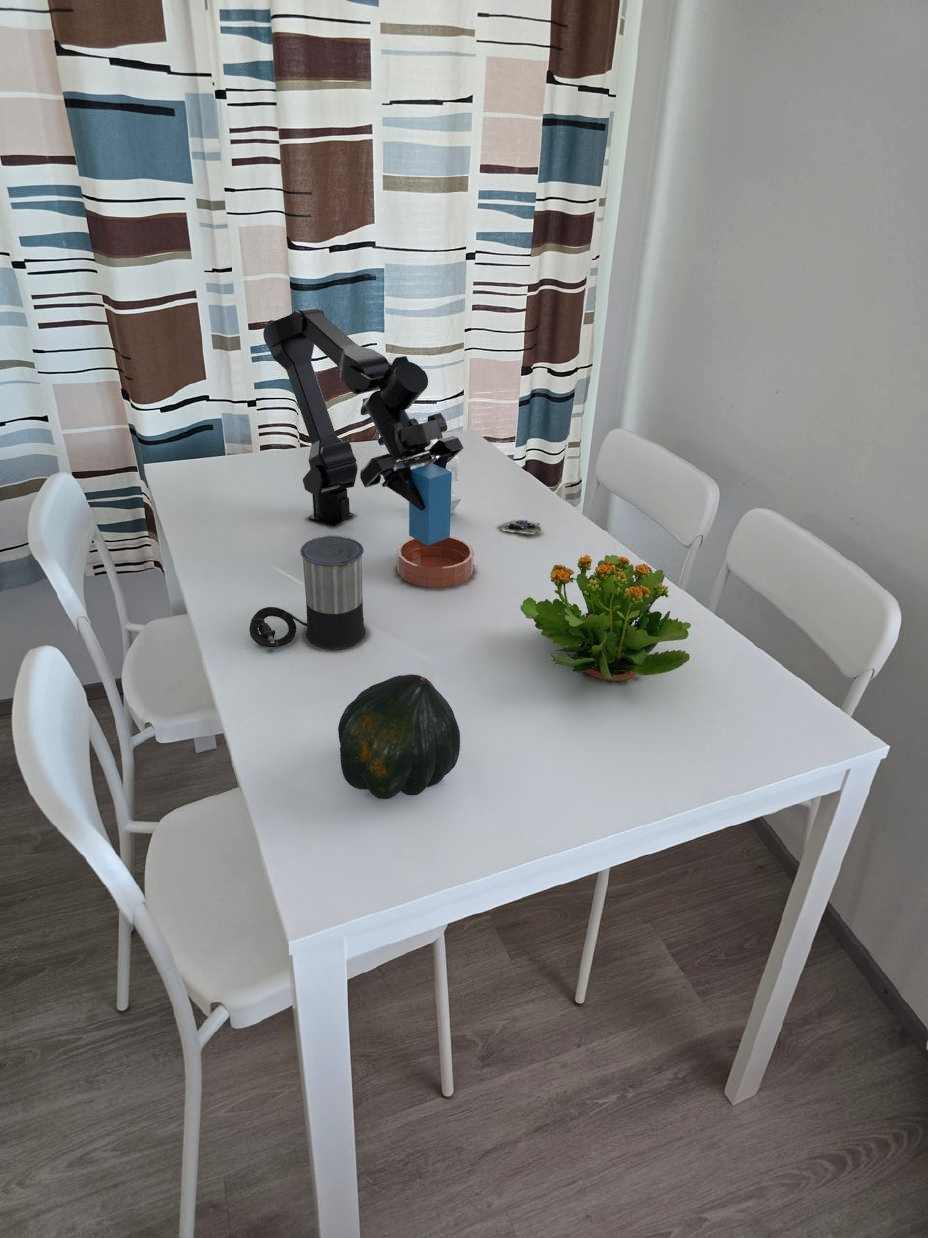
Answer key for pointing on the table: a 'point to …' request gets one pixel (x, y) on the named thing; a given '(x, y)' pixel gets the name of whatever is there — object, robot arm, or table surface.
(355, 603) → the milk frother
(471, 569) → the terracotta bowl
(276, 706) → the table surface
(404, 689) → the squash
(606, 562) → the potted flower
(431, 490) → the blue rectangular block
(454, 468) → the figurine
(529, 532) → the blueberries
